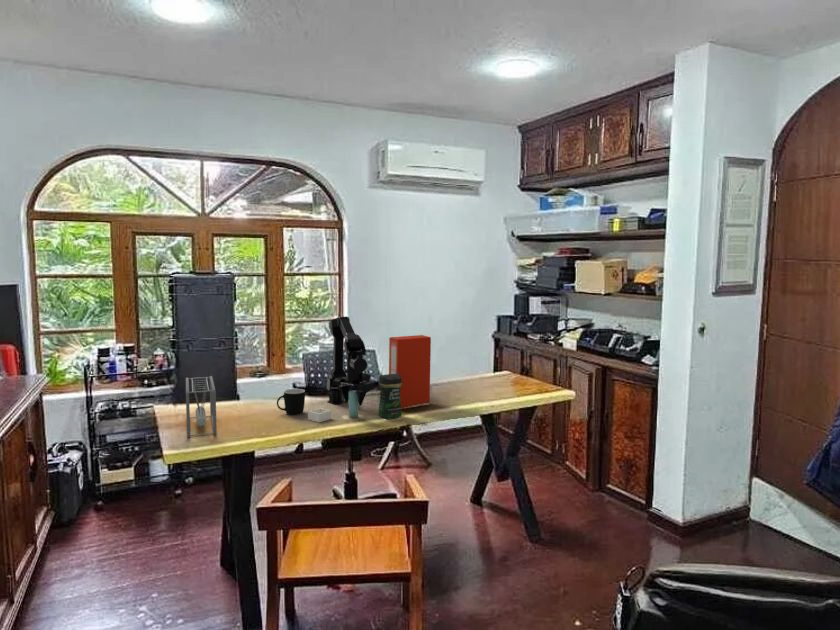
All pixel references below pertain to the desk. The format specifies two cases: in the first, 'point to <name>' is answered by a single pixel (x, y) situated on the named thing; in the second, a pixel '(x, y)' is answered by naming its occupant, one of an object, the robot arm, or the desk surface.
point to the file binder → (411, 367)
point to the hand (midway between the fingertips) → (353, 403)
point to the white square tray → (319, 415)
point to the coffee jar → (390, 396)
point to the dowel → (353, 404)
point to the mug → (293, 401)
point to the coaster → (346, 417)
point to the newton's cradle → (200, 410)
